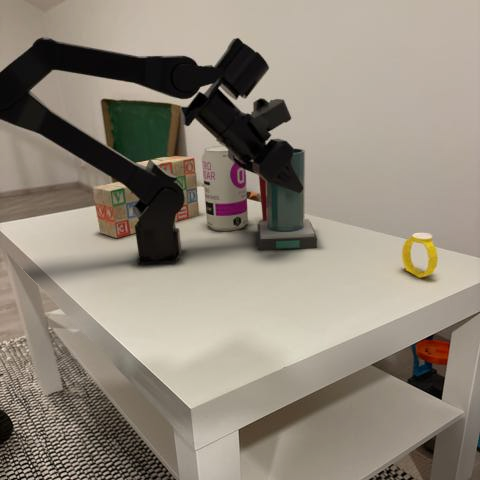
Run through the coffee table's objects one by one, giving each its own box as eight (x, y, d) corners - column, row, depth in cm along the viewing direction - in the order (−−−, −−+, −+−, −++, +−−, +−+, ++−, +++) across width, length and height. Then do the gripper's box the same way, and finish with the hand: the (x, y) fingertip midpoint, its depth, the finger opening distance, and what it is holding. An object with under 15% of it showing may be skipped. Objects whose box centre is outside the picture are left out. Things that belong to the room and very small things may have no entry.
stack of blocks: (117, 239, 98) (106, 174, 93) (99, 233, 102) (88, 170, 97) (200, 214, 111) (194, 156, 106) (181, 210, 116) (175, 154, 110)
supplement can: (255, 222, 104) (252, 145, 97) (233, 233, 98) (228, 152, 91) (222, 218, 108) (217, 144, 101) (199, 229, 102) (192, 150, 95)
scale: (258, 251, 88) (258, 237, 87) (257, 233, 97) (257, 220, 96) (317, 248, 87) (317, 234, 86) (310, 231, 97) (310, 218, 96)
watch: (396, 269, 77) (399, 231, 74) (411, 266, 78) (415, 228, 75) (423, 282, 72) (428, 242, 69) (439, 279, 73) (444, 239, 70)
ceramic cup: (291, 234, 87) (290, 155, 81) (259, 228, 91) (257, 153, 85) (311, 224, 92) (312, 149, 86) (280, 220, 95) (279, 147, 90)
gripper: (280, 81, 72) (348, 155, 79) (241, 80, 88) (301, 142, 95) (229, 145, 73) (300, 211, 81) (201, 132, 89) (262, 189, 97)
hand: (291, 185), depth 88 cm, fingers open, 9 cm apart
